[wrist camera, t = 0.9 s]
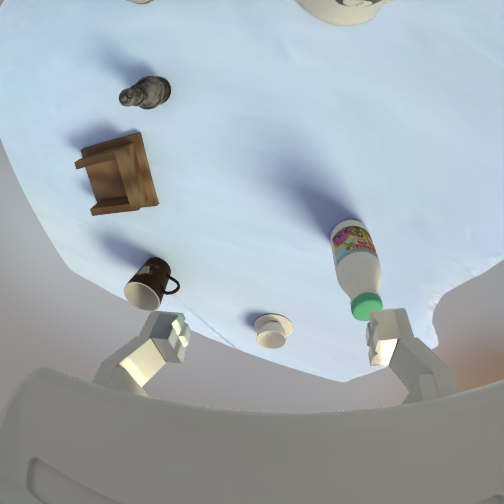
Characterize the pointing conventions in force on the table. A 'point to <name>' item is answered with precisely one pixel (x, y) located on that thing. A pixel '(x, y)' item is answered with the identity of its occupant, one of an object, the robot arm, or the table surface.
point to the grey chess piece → (146, 93)
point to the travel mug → (140, 1)
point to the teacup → (272, 330)
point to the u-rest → (119, 175)
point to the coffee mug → (149, 285)
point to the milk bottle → (357, 267)
